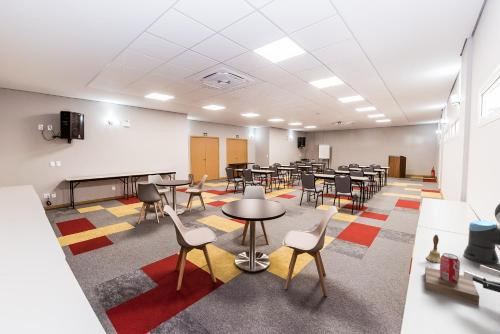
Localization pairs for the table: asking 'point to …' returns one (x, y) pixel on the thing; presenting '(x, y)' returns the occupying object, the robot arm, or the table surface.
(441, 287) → the podium
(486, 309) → the table surface
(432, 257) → the hand bell
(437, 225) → the table surface
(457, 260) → the soda can
